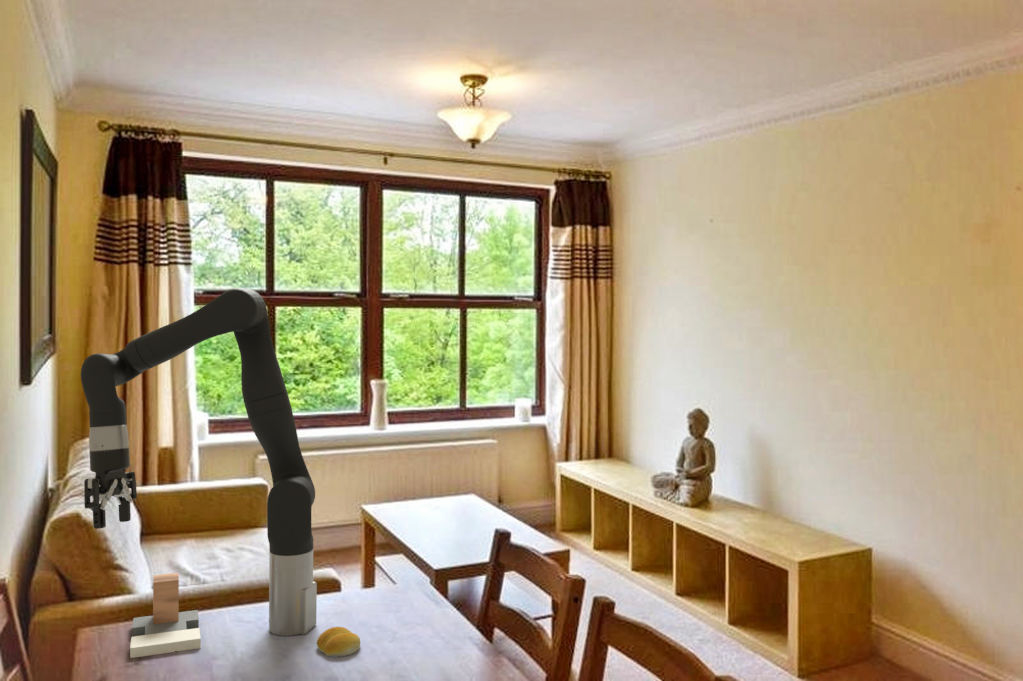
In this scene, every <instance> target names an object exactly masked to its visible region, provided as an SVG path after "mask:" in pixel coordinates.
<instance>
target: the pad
mask: <svg viewBox="0 0 1023 681" xmlns="http://www.w3.org/2000/svg"><path fill="white" fill-rule="evenodd" d="M130 638H131V639H130V647H129V653H130V654H129V656H130V657H129V659H135V658H140V657H148V656H153V655H154V656H155V655H161V654H163V655H164V654H168V653H169V654H170V653H176V652H175V651H177V652H183V651H189V650H197V649H201V644H202V643H201V642H202V641H201V640H202V638H201V628H200V627H199V628H194V629H187V630H179V631H172V632H164V633H157V634H149V635H142V636H134V637H132V636H131V637H130Z"/></svg>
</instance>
